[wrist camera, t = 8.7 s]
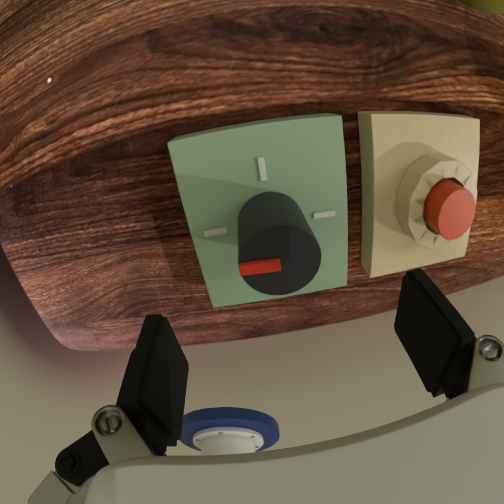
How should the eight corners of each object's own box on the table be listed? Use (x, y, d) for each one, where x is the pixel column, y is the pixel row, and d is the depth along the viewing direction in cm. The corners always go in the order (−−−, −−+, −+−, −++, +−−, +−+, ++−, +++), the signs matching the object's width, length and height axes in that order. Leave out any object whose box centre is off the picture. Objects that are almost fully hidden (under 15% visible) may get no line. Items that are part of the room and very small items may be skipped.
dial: (300, 187, 17) (323, 221, 12) (303, 246, 19) (322, 293, 14) (233, 195, 17) (232, 233, 12) (242, 254, 19) (244, 304, 14)
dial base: (337, 267, 23) (347, 286, 20) (214, 287, 23) (212, 309, 21) (328, 112, 17) (342, 115, 14) (175, 136, 17) (165, 143, 15)
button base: (451, 244, 22) (476, 267, 19) (360, 263, 23) (378, 292, 19) (462, 115, 16) (495, 123, 13) (356, 111, 17) (384, 116, 13)
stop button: (457, 225, 17) (471, 236, 16) (421, 231, 17) (434, 244, 16) (463, 178, 15) (479, 187, 14) (425, 181, 15) (441, 190, 14)
